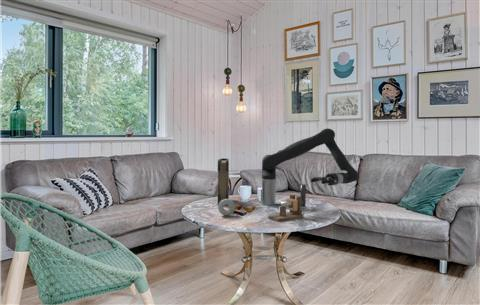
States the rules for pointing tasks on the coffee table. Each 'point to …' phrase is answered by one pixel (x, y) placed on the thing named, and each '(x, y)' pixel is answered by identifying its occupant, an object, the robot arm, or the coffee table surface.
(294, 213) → the shaft stand
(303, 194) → the grey piece
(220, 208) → the donut
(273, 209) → the coffee table surface
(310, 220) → the coffee table surface
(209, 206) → the coffee table surface
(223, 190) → the decorative book
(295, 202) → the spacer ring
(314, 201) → the coffee table surface
